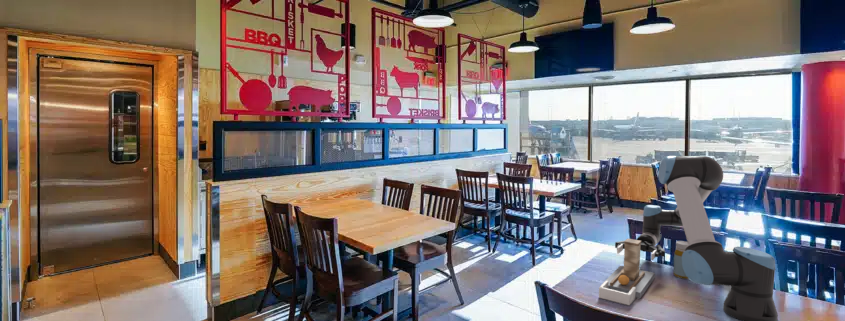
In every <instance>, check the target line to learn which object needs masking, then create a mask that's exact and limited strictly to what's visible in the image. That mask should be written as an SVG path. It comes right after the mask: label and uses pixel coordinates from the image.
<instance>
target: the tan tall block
mask: <svg viewBox="0 0 845 321" xmlns="http://www.w3.org/2000/svg"><path fill="white" fill-rule="evenodd" d="M623 241H624V244H625V248H624V249H623V251H624V252H623V266H624V270H623V271H622V275H626V276H627V277H628V278H629V280H633V281H635V280H636V278H637V277H638V276H639V270H640V268H641V267H640V265H641V250H640V246H641V241H640V240H637V239H633V238H629V237H628V238H626V239H625V240H623Z"/></svg>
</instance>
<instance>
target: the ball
mask: <svg viewBox="0 0 845 321" xmlns="http://www.w3.org/2000/svg"><path fill="white" fill-rule="evenodd" d="M618 281H619V283H620V284H622V285H627V284H628V283H629V278H628V277H627V276H626V275H621V276H619V278H618Z"/></svg>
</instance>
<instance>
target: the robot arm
mask: <svg viewBox="0 0 845 321" xmlns="http://www.w3.org/2000/svg"><path fill="white" fill-rule="evenodd" d="M723 180H724V171H723V168H722V166H721V164H720V163H719V162H718V161H716V160H715V159H714V158H711V157H709V156H705V155H696V156H695V155H681V156H679V155H678V156H677V155H669V156H668V155H667V156H665V157H663V158H662V159H661V160H660V163H659V168H658V181H659V183H660V184H662V185H666V187H667V190H668V191H669V192H670V193H673V196H674V200H675V203H676V208H675V209H669V210H668V209H662V207H661V206H660V205H656V204H655V205H653V204H647V205H645V206H644V207H643V214H642V234H640V235H639V236H638V237H637V238H636V240H640V241H641V246H640V252H646V253H647V252H648V253H651V254H650V260H651V261H654V260H655V258H659V257H660V256H661V257H663V258H664V257H666V256H665V255H666V254H665V253H666V251H665V249H664V248H662V246H661V244H660V243H659V242H660V241H661V239H662V233H661V226H669V227H670V226H671V227H673V226H674V227H683V228H682V229H683V231H684V235H685V239H686V241H687V242H688V245H687V247H686V248H685V251H684V252H683V254H682V266H683V269H684V272H685V274H686V276H687V277H688V278H689V279H688V280H690V281H691V282H693V283H695V284H699V285H706V286H728V287H730V289H729V292H728V293H727V295H726V297H725V299H724V301H723V304H722V305H723V306H722V309H723V311H724V313H726V314H727V315H729V316H730V317H732V318H735V319H737V320H740V321H777V320H778V318H779V317H778V316H779V313H778V310H777V306H776V304H775V301H774V297H773V295H774V284H775V273H776V271H777V270H776V260H775V258H774V256H772V254H769V253H767V252H765V251H762V250H759V249H756V248H755V249H754V248H752V247H751V248H750V247H745V246H734V247H733V249H732V251H725V250H724V247H723V244H722V243H720V242H719V241H717V240H716V239H715V236H714V233H713V230H712V227H711V223H710V220H709V218H708V214H707V212H706V211H707V210H706V209H705V207H704V206H705V205H704V202H705V201H706V200H707V198H708V197H709V196H710V194H711V193H712V192H713V191H715V190H718V188H719V187H720V186H721V184H722V182H723ZM660 233H661V234H660ZM624 241H625V240H622V241H621V240H620V241H615V242H614V245H615V246H614V248H615V249H616V254H620V253H621V252H622V251H624V248H625V244H624ZM658 243H659V244H658Z"/></svg>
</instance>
